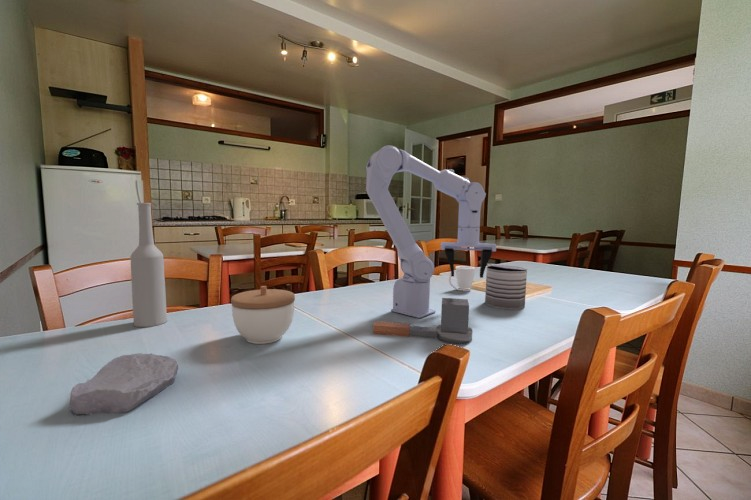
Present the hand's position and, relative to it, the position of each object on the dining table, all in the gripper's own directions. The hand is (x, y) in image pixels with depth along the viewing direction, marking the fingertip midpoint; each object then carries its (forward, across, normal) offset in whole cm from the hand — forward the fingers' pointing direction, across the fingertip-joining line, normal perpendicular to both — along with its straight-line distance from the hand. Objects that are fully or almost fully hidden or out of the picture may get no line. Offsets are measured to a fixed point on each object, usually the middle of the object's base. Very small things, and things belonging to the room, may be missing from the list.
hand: (466, 276), depth 97 cm
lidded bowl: (+10, -42, -34) cm, 55 cm away
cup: (+10, 0, +26) cm, 28 cm away
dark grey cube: (+8, -3, -24) cm, 25 cm away
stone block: (+10, -49, -58) cm, 77 cm away
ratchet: (+9, -10, -24) cm, 27 cm away
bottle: (+9, -73, -31) cm, 80 cm away
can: (+10, +12, +9) cm, 18 cm away
